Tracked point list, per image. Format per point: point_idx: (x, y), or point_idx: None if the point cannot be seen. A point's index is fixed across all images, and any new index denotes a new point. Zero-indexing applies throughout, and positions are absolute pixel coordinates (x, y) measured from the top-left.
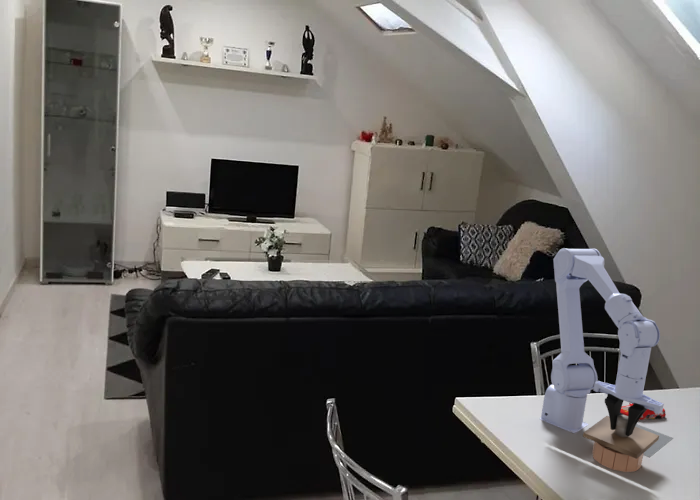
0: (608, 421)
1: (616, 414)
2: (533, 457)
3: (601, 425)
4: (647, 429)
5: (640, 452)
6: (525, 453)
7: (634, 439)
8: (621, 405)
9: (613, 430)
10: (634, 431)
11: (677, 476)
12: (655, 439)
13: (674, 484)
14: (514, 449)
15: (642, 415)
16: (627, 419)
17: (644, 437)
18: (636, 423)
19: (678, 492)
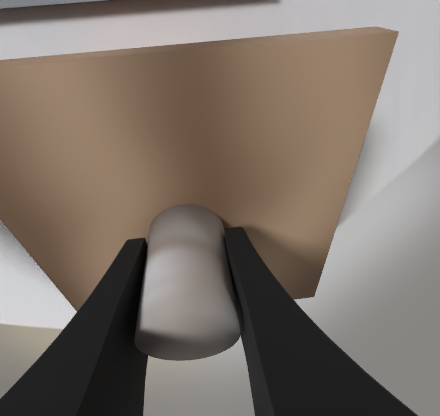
0: (15, 167)
1: (132, 364)
2: (65, 311)
3: (56, 240)
4: None
5: (318, 276)
6: (40, 314)
7: (263, 224)
8: (86, 414)
9: (135, 233)
10: (220, 144)
11: (409, 37)
12: (368, 113)
13: (395, 119)
14: (13, 320)
15: None
16: (222, 340)
17: (301, 162)
18: (273, 279)
19: (407, 157)
